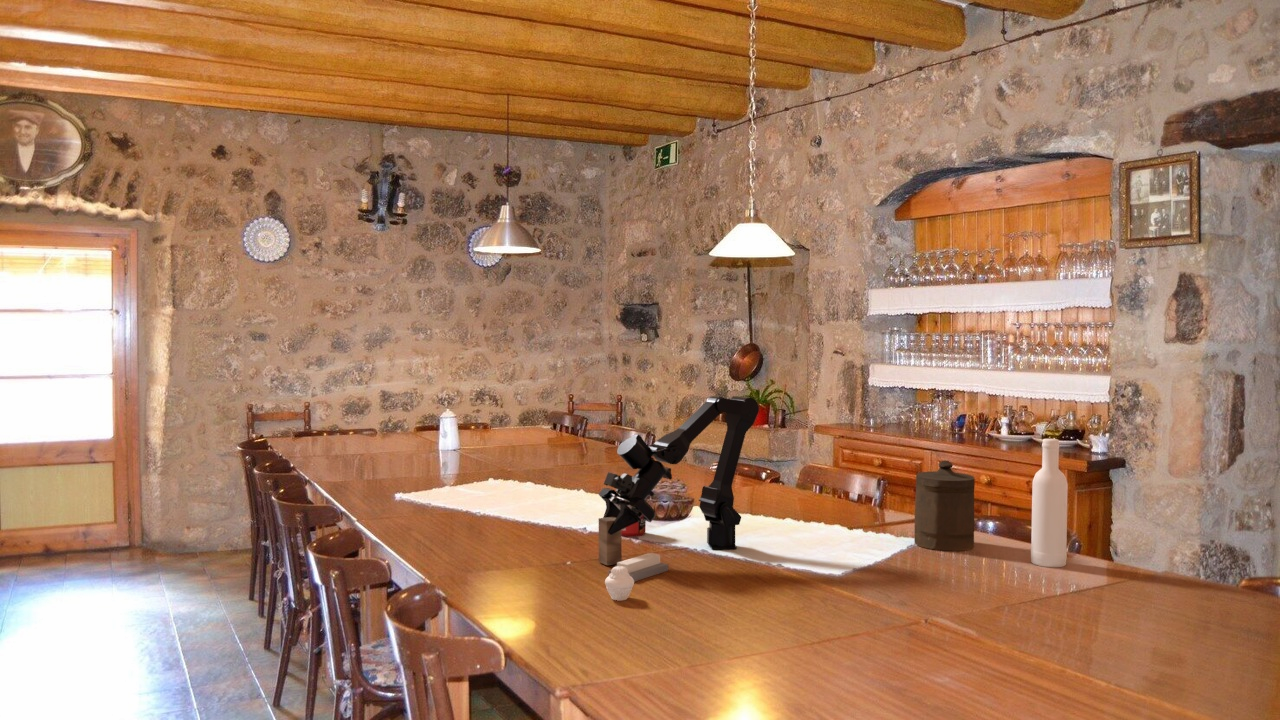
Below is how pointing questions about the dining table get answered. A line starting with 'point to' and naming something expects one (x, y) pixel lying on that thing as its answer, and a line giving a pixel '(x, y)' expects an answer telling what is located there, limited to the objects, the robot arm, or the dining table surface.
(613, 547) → the tall brown block
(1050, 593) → the dining table surface
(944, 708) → the dining table surface
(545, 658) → the dining table surface
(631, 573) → the ridge block
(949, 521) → the wooden container
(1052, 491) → the bottle
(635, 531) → the canned food
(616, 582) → the muffin
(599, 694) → the dining table surface
